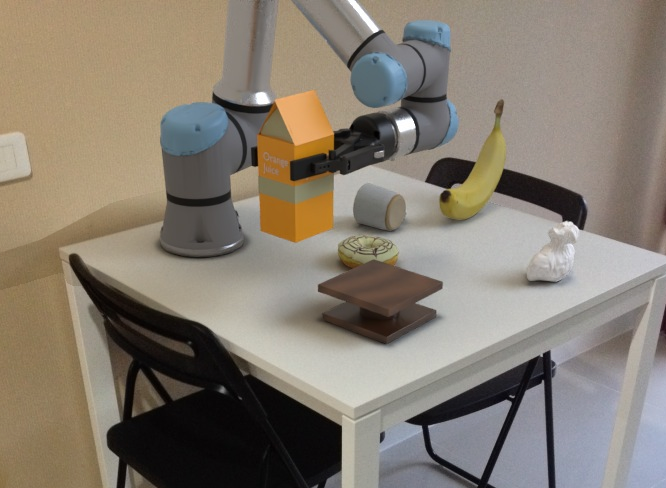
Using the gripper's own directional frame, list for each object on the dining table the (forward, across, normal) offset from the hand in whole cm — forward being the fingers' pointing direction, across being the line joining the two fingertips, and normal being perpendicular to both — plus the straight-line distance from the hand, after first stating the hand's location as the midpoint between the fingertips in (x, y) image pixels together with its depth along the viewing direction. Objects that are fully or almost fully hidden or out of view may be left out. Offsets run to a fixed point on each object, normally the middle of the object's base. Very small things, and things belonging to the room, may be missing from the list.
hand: (272, 164), depth 144 cm
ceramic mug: (-41, +17, -24) cm, 50 cm away
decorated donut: (-26, +5, -24) cm, 35 cm away
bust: (-45, -21, -24) cm, 55 cm away
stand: (-11, -13, -23) cm, 29 cm away
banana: (-59, +10, -24) cm, 64 cm away
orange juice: (-5, 0, -11) cm, 12 cm away
